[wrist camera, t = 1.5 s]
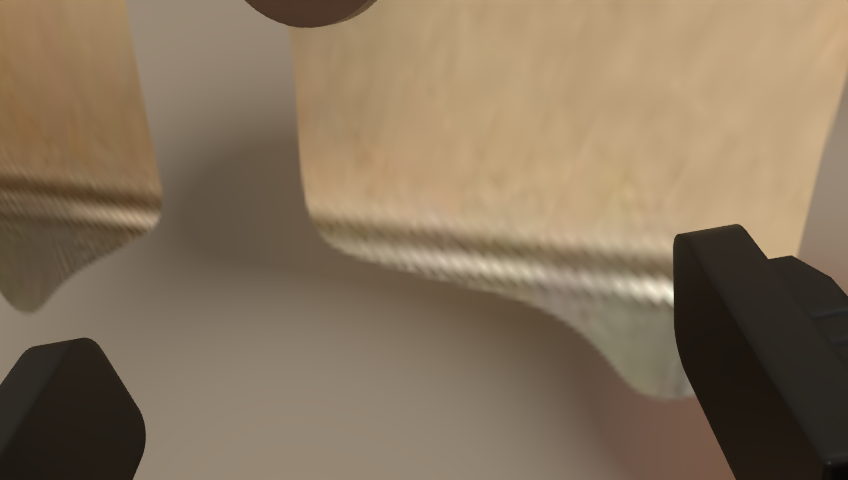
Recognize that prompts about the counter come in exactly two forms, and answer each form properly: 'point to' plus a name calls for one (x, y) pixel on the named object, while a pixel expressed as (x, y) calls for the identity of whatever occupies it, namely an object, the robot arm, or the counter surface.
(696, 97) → the counter surface
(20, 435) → the robot arm
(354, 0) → the stand
